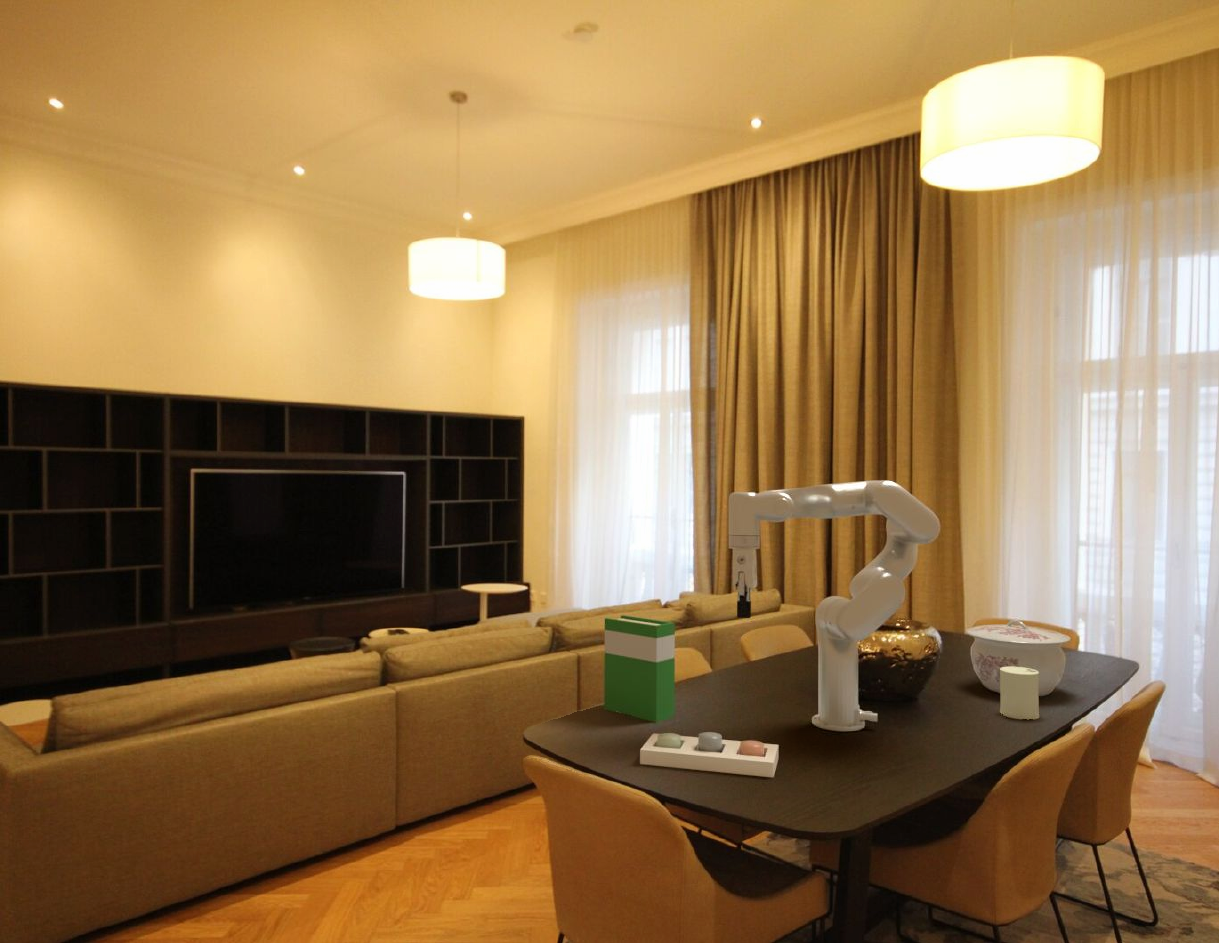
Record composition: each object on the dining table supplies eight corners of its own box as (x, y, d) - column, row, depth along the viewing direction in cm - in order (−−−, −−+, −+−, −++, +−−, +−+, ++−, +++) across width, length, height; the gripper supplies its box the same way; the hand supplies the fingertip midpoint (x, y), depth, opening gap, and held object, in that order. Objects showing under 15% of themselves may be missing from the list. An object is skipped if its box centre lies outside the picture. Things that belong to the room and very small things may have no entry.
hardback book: (604, 709, 218) (604, 618, 219) (622, 703, 224) (623, 615, 224) (656, 722, 207) (656, 626, 207) (674, 716, 212) (674, 622, 212)
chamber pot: (1071, 709, 219) (1070, 631, 219) (959, 696, 233) (959, 622, 233) (1072, 687, 243) (1071, 616, 244) (971, 676, 257) (971, 609, 257)
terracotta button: (765, 760, 177) (765, 741, 177) (762, 768, 172) (762, 748, 172) (741, 758, 178) (741, 739, 178) (738, 765, 174) (738, 746, 174)
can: (1044, 720, 209) (1044, 673, 209) (1005, 718, 211) (1004, 671, 211) (1033, 711, 218) (1033, 665, 218) (995, 709, 220) (995, 663, 220)
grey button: (723, 751, 179) (723, 733, 180) (719, 759, 175) (719, 740, 175) (700, 749, 181) (700, 731, 181) (696, 756, 176) (696, 737, 176)
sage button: (682, 752, 182) (682, 734, 182) (678, 759, 177) (678, 740, 177) (660, 750, 183) (660, 732, 183) (655, 757, 179) (655, 738, 179)
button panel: (778, 758, 180) (778, 744, 180) (773, 777, 168) (773, 762, 168) (653, 746, 187) (653, 733, 188) (640, 763, 176) (640, 749, 176)
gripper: (756, 544, 194) (756, 623, 194) (762, 540, 208) (762, 613, 208) (724, 544, 196) (724, 621, 196) (732, 540, 210) (732, 612, 210)
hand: (744, 617), depth 202 cm, fingers closed
